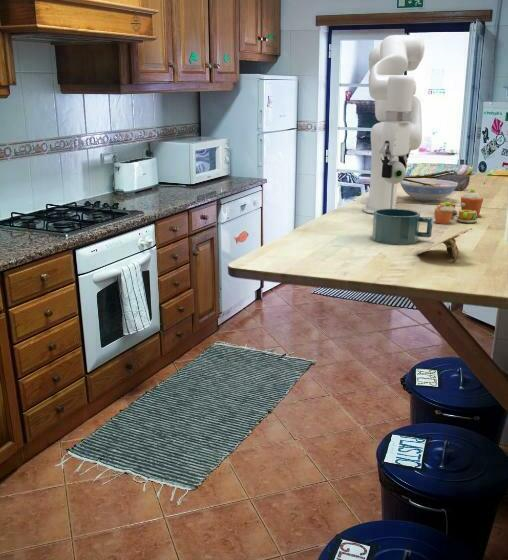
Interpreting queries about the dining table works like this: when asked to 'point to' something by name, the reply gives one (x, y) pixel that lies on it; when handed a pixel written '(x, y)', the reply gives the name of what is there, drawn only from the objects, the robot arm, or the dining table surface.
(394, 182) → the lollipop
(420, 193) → the ramen bowl
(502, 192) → the dining table surface
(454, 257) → the tan irregular piece
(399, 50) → the robot arm
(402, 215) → the mug
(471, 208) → the toy tea set
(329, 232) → the dining table surface
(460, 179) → the perforated stone tool
